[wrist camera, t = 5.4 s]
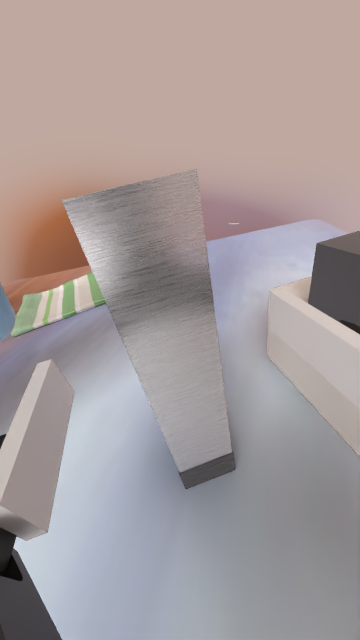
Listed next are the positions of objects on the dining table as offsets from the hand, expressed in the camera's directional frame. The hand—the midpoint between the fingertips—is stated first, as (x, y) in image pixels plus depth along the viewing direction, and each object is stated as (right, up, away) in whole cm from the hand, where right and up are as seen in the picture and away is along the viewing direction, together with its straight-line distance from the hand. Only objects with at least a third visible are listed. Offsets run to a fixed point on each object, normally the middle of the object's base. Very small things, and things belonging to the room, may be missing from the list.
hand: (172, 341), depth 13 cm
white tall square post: (+2, -9, +4) cm, 10 cm away
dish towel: (-22, +6, +36) cm, 42 cm away
